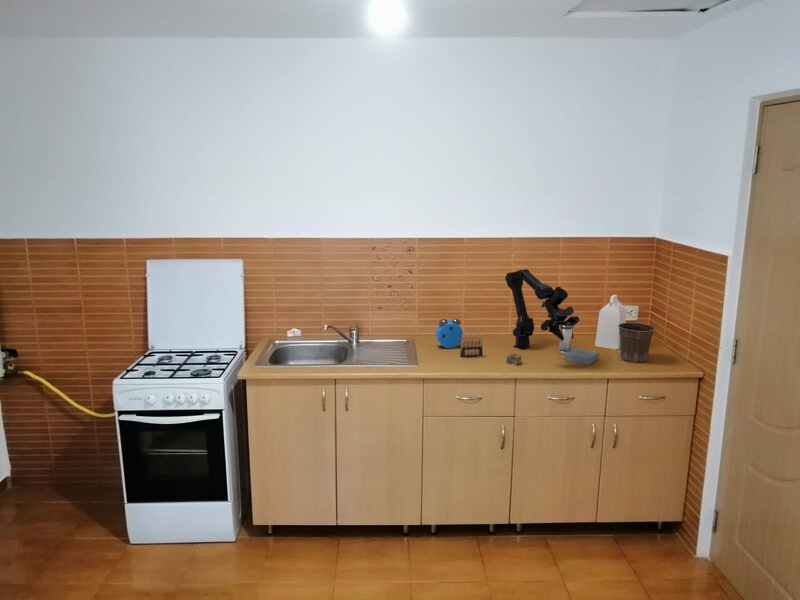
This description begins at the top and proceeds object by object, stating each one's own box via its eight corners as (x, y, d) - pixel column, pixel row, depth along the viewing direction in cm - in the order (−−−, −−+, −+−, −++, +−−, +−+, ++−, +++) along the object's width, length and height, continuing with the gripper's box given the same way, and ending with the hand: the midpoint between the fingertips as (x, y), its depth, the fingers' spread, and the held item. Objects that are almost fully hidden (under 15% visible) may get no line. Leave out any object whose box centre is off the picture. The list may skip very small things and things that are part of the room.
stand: (564, 359, 287) (565, 353, 287) (574, 353, 297) (574, 347, 296) (589, 364, 280) (589, 358, 279) (598, 358, 289) (598, 352, 289)
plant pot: (610, 353, 297) (613, 321, 293) (643, 353, 297) (646, 322, 293) (622, 364, 281) (625, 331, 277) (657, 364, 281) (660, 331, 277)
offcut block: (506, 363, 282) (506, 355, 281) (510, 360, 286) (511, 352, 285) (516, 365, 279) (516, 357, 278) (520, 362, 283) (521, 354, 282)
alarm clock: (460, 344, 311) (460, 316, 308) (463, 348, 305) (464, 319, 302) (435, 345, 309) (435, 317, 305) (438, 349, 303) (438, 320, 299)
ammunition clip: (481, 355, 294) (482, 331, 291) (482, 356, 292) (483, 332, 289) (460, 356, 292) (460, 332, 289) (461, 357, 290) (461, 333, 288)
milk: (602, 340, 319) (606, 292, 313) (624, 344, 312) (629, 295, 306) (594, 345, 309) (598, 296, 304) (617, 349, 303) (622, 299, 297)
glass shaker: (555, 352, 277) (557, 324, 274) (563, 349, 281) (565, 322, 278) (566, 355, 273) (568, 327, 270) (573, 352, 277) (576, 325, 274)
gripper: (546, 303, 271) (560, 332, 264) (578, 299, 279) (593, 328, 272) (534, 315, 280) (548, 345, 273) (565, 311, 288) (580, 340, 281)
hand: (567, 339), depth 274 cm, fingers closed on glass shaker, 5 cm apart
